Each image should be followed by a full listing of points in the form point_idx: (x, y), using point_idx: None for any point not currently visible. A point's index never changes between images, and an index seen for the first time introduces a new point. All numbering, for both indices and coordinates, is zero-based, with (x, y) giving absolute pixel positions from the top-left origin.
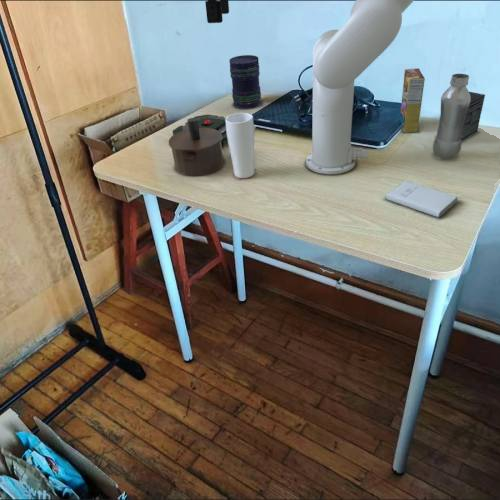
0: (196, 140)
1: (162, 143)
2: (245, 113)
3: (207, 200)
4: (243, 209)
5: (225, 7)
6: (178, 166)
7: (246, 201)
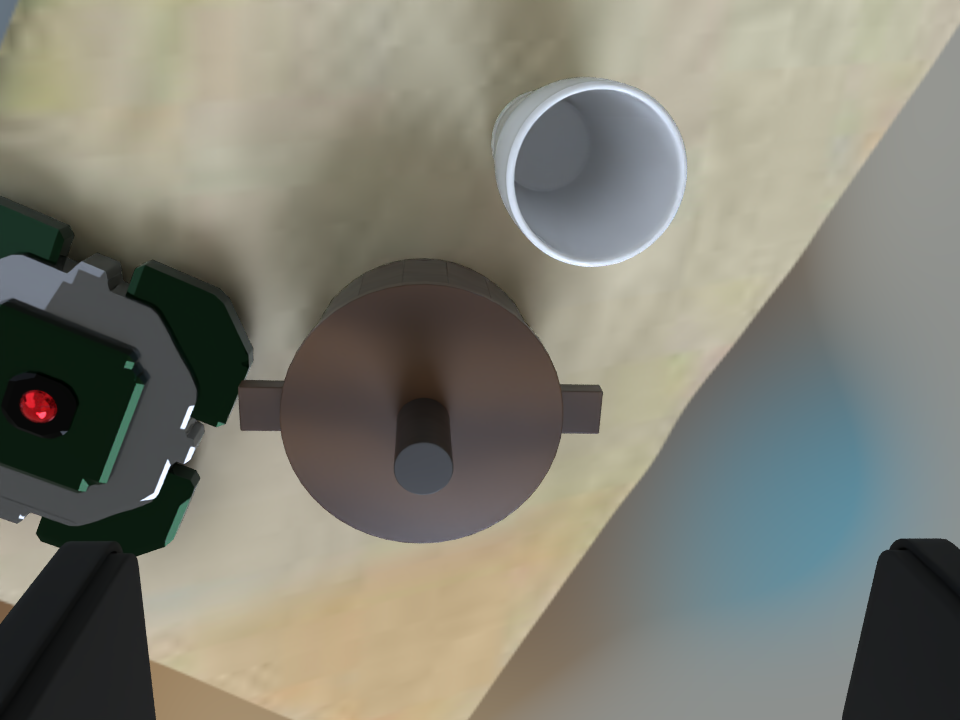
0: (453, 410)
1: (185, 576)
2: (522, 139)
3: (749, 280)
4: (849, 119)
5: (106, 650)
6: None
7: (788, 111)
